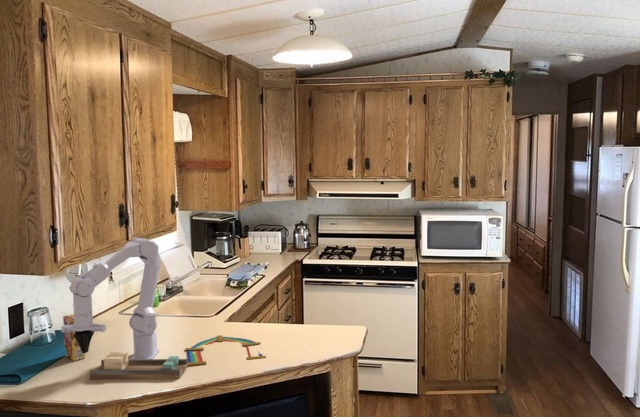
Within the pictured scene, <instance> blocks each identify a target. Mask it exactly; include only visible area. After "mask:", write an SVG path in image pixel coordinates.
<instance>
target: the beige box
mask: <svg viewBox="0 0 640 417" xmlns="http://www.w3.org/2000/svg"><path fill="white" fill-rule="evenodd" d="M128 359H129V352H127V351H124V352H122V351H121V352H120V351H119V352H118V351H117V352H115V351H114V352H113V351H112V352H109V353H108V354H107V355H106V356H105V357H104V358H103V360H104V369H125V368H126V367H127V366H128V365H129V362H128Z"/></svg>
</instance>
